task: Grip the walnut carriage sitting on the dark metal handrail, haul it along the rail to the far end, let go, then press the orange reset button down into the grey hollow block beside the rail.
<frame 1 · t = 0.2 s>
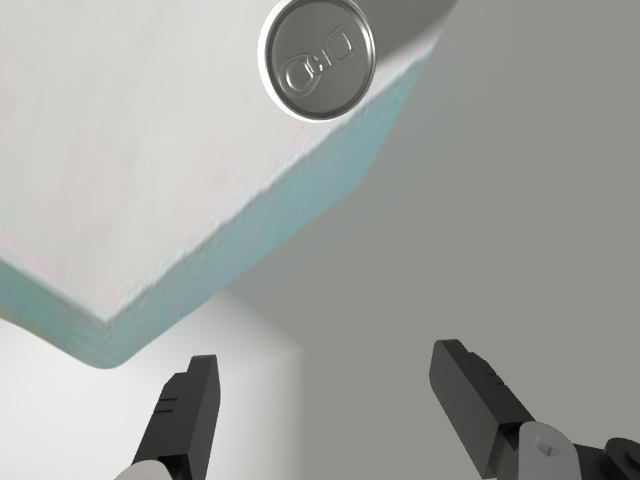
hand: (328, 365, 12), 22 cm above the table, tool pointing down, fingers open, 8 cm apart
can: (303, 58, 27), on the table
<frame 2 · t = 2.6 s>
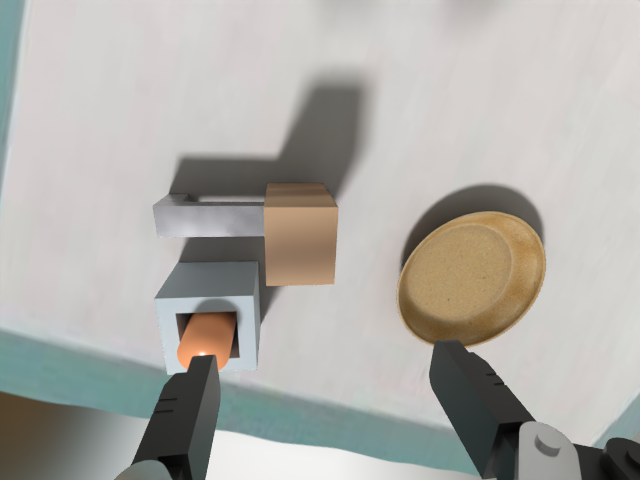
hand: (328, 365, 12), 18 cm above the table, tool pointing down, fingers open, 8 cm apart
reset button: (211, 328, 26), point 5 cm above the table, slide at 0.0 cm
plant saucer: (457, 272, 33), on the table
carriage: (297, 228, 24), point 5 cm above the table, slide at 3.8 cm
handrail: (249, 208, 28), on the table
grey hollow block: (221, 295, 31), on the table
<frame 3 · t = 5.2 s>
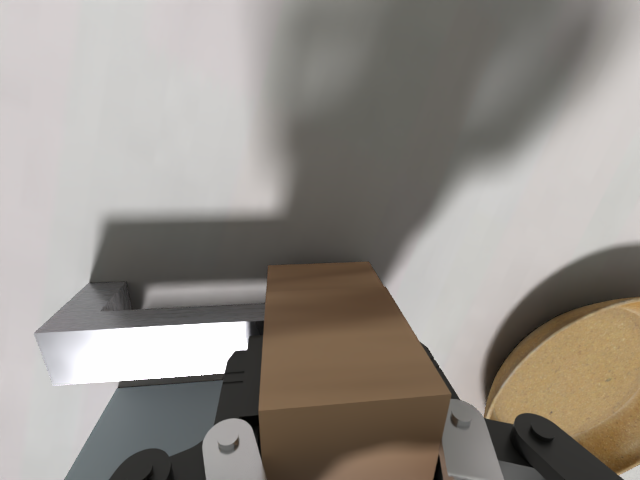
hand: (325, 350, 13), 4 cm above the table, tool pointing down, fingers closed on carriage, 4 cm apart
plant saucer: (566, 372, 21), on the table
carriage: (330, 371, 12), point 5 cm above the table, slide at 3.8 cm, touching gripper
handrail: (237, 299, 16), on the table
grey hollow block: (194, 430, 19), on the table
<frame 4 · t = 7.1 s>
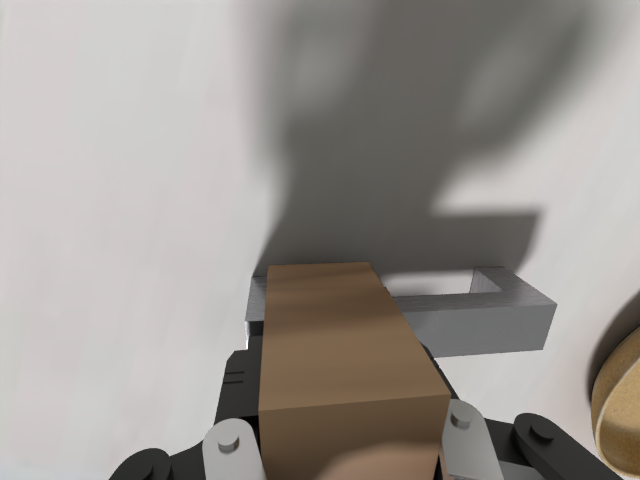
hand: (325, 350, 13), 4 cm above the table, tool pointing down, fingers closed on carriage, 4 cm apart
carriage: (330, 371, 12), point 5 cm above the table, slide at -3.4 cm, touching gripper
handrail: (381, 292, 17), on the table
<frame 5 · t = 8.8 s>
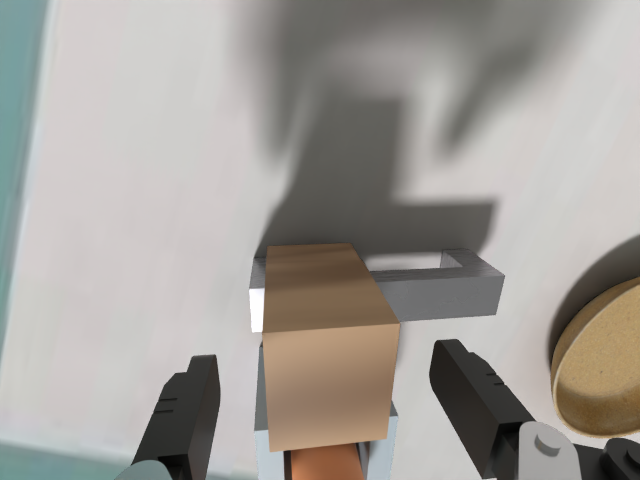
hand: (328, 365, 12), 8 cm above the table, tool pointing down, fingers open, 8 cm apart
reset button: (324, 454, 18), point 5 cm above the table, slide at 0.0 cm
plant saucer: (614, 337, 25), on the table
carriage: (317, 326, 15), point 5 cm above the table, slide at -3.5 cm
handrail: (363, 271, 20), on the table
grey hollow block: (313, 384, 23), on the table
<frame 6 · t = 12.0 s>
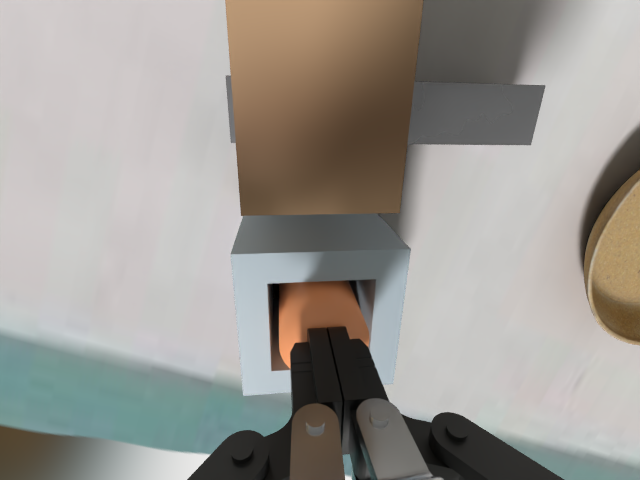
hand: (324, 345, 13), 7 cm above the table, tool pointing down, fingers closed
reset button: (316, 302, 16), point 4 cm above the table, slide at 0.9 cm, touching gripper
carriage: (311, 112, 11), point 5 cm above the table, slide at -3.5 cm
handrail: (369, 112, 17), on the table
grey hollow block: (309, 265, 19), on the table
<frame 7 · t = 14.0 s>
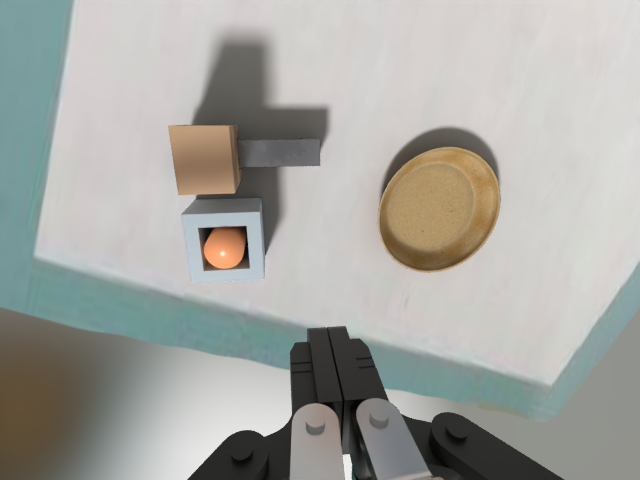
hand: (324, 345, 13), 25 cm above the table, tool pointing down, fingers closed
reset button: (227, 240, 33), point 4 cm above the table, slide at 1.4 cm
plant saucer: (429, 207, 40), on the table
carriage: (211, 156, 29), point 5 cm above the table, slide at -3.5 cm
handrail: (253, 150, 34), on the table
grey hollow block: (231, 229, 37), on the table
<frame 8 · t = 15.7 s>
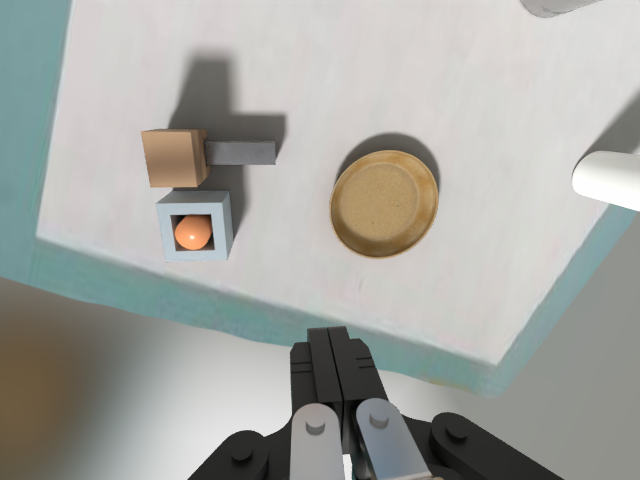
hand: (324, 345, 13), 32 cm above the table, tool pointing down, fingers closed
reset button: (197, 226, 40), point 4 cm above the table, slide at 1.4 cm
can: (589, 172, 47), on the table
plant saucer: (378, 202, 45), on the table
carriage: (180, 155, 35), point 5 cm above the table, slide at -3.5 cm
handrail: (221, 150, 40), on the table
grey hollow block: (204, 217, 43), on the table
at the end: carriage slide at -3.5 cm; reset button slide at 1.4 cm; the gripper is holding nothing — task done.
